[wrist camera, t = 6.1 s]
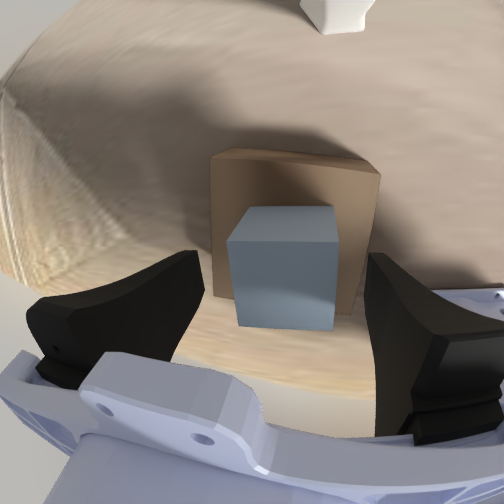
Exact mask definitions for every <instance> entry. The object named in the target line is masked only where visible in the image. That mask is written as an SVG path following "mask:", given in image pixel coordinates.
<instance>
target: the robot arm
mask: <svg viewBox="0 0 504 504" xmlns="http://www.w3.org/2000/svg"><path fill="white" fill-rule="evenodd" d="M204 291H205V288H204V283H203V278H202V273H201V267H200V262H199V257H198V252H197V250H184V251H181V252H178V253H176V254H174V255H172V256H169V257H167V258H165V259H163V260H161V261H159V262H158V263H156V264H154V265H152V266H150V267H148V268H145V269H143V270H141V271H139V272H137V273H135V274H133V275H131V276H128V277H126V278H124V279H121V280H119V281H116V282H113V283H110V284H108V285H104V286H101V287H97V288H94V289H91V290H87V291H82V292H78V293H72V294H67V295H59V296H50V297H43V298H41V299H39V300H38V301H37V302H36V303H35V304H34V305H33V306H31V307H30V308H29V309H28V310H27V312H26V320H27V324H28V327H29V329H30V331H31V333H32V335H33V337H34V338H35V340H36V342H37V343H38V345H39V347H40V348H41V350H42V352H43V354H44V355H45V356H44V358H43V359H42V360H40V359H39V358H38V357H37V356H35V355H33V354H31V353H29V352H27V351H25V350H22V351H21V352H20V353H19V354H18V355H17V356H16V357H15V358H14V359H13V360H12V361H11V363H10V364H9V365H8V366H7V367H6V368H5V369H4V371H2V373H1V374H0V398H1V399H2V400H3V401H4V402H5V403H6V405H7V406H8V407H9V408H10V409H11V410H12V412H13V413H14V414H15V415H16V416H17V417H18V418H19V419H20V420H21V421H22V422H23V423H24V424H25V425H26V426H28V427H29V428H30V429H32V430H33V431H34V432H36V433H37V434H38V435H40V436H41V437H42V438H44V439H45V440H47V441H48V442H49V443H51V444H52V445H54V446H55V447H57V448H58V449H60V450H61V451H62V452H64V453H65V454H67V455H68V456H70V459H69V461H68V462H67V464H66V466H65V467H64V469H63V471H62V472H61V474H60V476H59V477H58V479H57V481H56V482H55V484H54V486H53V488H52V489H51V491H50V493H49V495H48V496H47V498H46V500H45V502H44V503H43V504H504V288H486V289H456V290H430V289H428V288H427V287H425V286H424V285H422V284H421V283H420V282H418V281H417V280H416V279H414V278H413V277H412V276H410V275H409V274H408V273H407V272H406V271H404V270H403V269H402V268H401V267H400V266H398V265H397V264H396V263H395V262H394V261H393V260H392V259H390V258H389V257H388V256H387V255H385V254H384V253H369V255H368V265H367V274H366V283H365V291H364V304H365V315H366V320H367V325H368V330H369V335H370V340H371V345H372V350H373V356H374V363H375V377H376V419H375V437H366V438H334V437H329V436H323V435H318V434H313V433H309V432H304V431H299V430H295V429H291V428H287V427H282V426H279V425H275V424H271V423H267V422H265V421H264V418H263V411H262V404H261V402H260V401H259V399H258V397H257V396H256V394H255V392H254V390H253V389H252V388H251V387H249V386H247V385H246V384H244V383H243V382H241V381H240V380H238V379H237V378H235V377H234V376H232V375H228V374H225V373H222V372H218V371H215V370H212V369H206V368H200V367H194V366H188V365H182V364H176V363H171V362H170V361H171V358H172V356H173V353H174V351H175V349H176V347H177V345H178V343H179V341H180V340H181V338H182V336H183V334H184V333H185V331H186V329H187V327H188V326H189V324H190V322H191V320H192V319H193V317H194V315H195V313H196V311H197V309H198V308H199V305H200V302H201V300H202V297H203V294H204ZM496 294H497V295H496ZM495 295H496V296H495Z"/></svg>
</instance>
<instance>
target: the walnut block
mask: <svg viewBox="0 0 504 504" xmlns="http://www.w3.org/2000/svg"><path fill="white" fill-rule="evenodd" d="M380 178H381V174H380V173H379V172H378V171H377V170H376V169H375V168H374V167H373V166H372V165H371V164H370V163H369V162H368V161H363V160H356V159H350V158H342V157H335V156H327V155H319V154H310V153H300V152H290V151H278V150H264V149H248V148H229V149H227V150H225V151H223V152H221V153H218V154H216V155H214V156H212V157H210V209H211V245H212V271H213V293H214V296H215V297H221V298H227V299H233V300H235V299H234V292H233V285H232V278H231V271H230V264H229V257H228V250H227V243H226V241H227V239H228V238H229V236H230V235H231V233H232V232H233V230H234V229H235V228H236V226H237V225H238V223H239V222H240V220H241V219H242V217H243V216H244V214H245V213H246V212H247V210H248V209H249V207H259V206H334V211H335V218H336V224H337V231H338V238H339V255H338V273H337V288H336V302H335V313H334V314H342V315H351V312H352V309H353V305H354V301H355V298H356V294H357V290H358V286H359V282H360V278H361V274H362V270H363V266H364V262H365V257H366V253H367V249H368V244H369V239H370V234H371V229H372V224H373V219H374V214H375V208H376V203H377V197H378V191H379V184H380Z"/></svg>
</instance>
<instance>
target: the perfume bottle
mask: <svg viewBox="0 0 504 504" xmlns="http://www.w3.org/2000/svg"><path fill="white" fill-rule="evenodd" d="M374 2H375V0H301V1H300V4H299V5H300V7H301V8H302V9H303V11H304V12H305V13H306V14H307V16H308V17H309V18H310V20H311V21H312V22H313V24H314V25H315V26H316V28H317V29H318V31H319V32H320V33H321V34H323V35H327V34H336V33H347V32H360V31H363V30H364V27H365V13H366V12H367V10H368V9H369V8H370V7H371V5H372V4H373V3H374Z"/></svg>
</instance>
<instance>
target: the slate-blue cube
mask: <svg viewBox="0 0 504 504" xmlns="http://www.w3.org/2000/svg"><path fill="white" fill-rule="evenodd" d="M226 243H227V250H228V257H229V264H230V271H231V278H232V285H233V292H234V299H235V305H236V312H237V319H238V325H239V326H243V327H257V328H274V329H294V330H324V331H333V324H334V313H335V302H336V288H337V273H338V255H339V238H338V231H337V224H336V218H335V211H334V206H259V207H249V209H248V210H247V212H246V213H245V214H244V216H243V217H242V219H241V220H240V222H239V223H238V225H237V226H236V228H235V229H234V230H233V232H232V233H231V235H230V236H229V238H228V239H227V241H226Z"/></svg>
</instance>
